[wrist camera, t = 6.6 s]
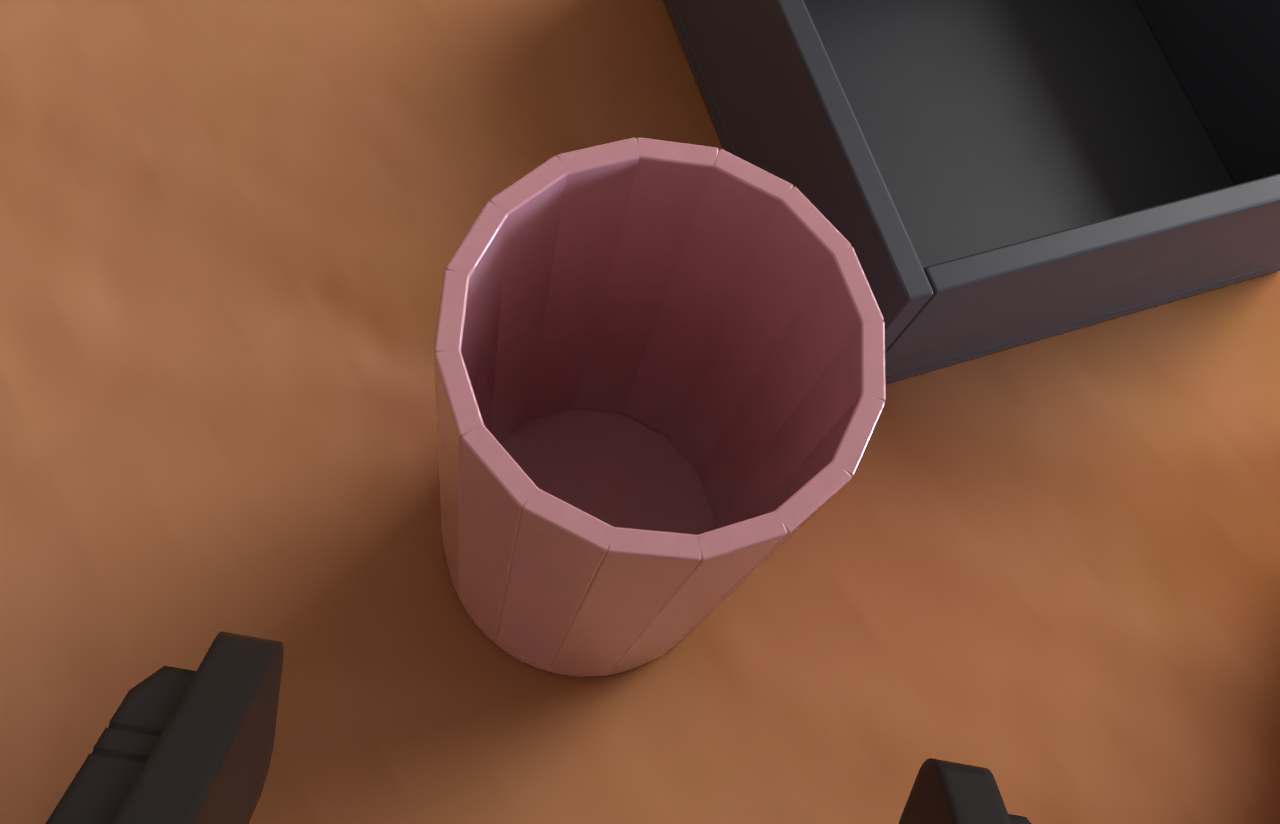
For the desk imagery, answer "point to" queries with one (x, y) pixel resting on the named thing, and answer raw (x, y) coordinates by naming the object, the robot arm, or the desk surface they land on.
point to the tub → (1009, 150)
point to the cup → (642, 395)
